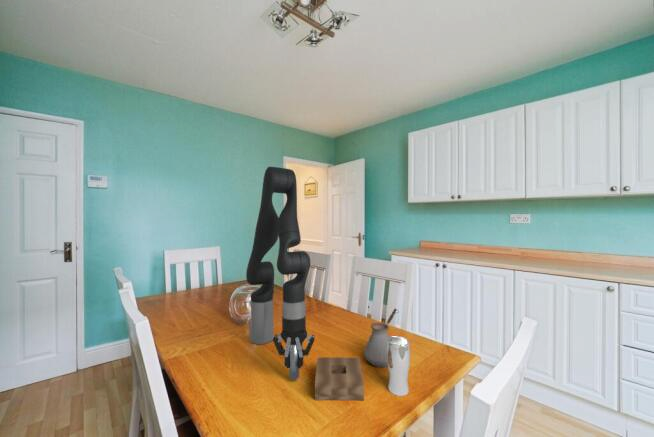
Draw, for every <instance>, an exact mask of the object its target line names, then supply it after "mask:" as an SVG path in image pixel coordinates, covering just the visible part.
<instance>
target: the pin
mask: <svg viewBox="0 0 654 437" xmlns="http://www.w3.org/2000/svg"><path fill="white" fill-rule="evenodd" d="M298 357H299V353H298V350H297V345H290V349H289V368H288V374H289V375H288V377H289V379H290V380H292V381H294V380H298V379H299V378H300V369H299V368H298Z"/></svg>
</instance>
